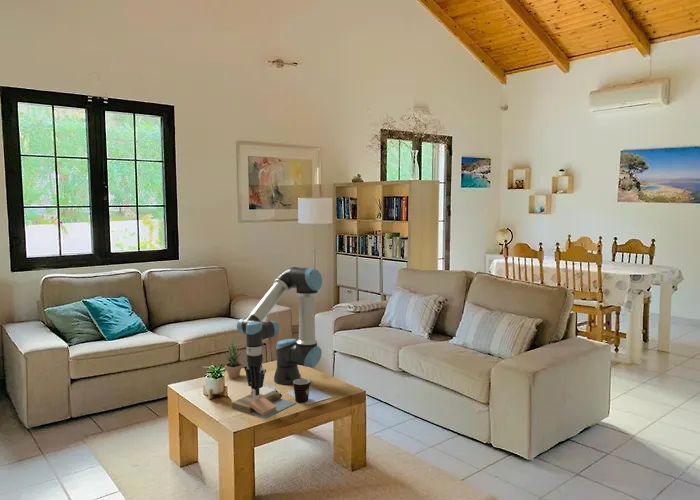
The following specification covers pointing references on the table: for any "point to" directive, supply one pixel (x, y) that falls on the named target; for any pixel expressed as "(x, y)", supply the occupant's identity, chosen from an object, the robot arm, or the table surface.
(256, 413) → the slate mat
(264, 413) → the terracotta coaster
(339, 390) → the table surface
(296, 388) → the coffee mug
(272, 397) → the walnut board
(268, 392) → the cream coaster
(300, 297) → the robot arm
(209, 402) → the table surface
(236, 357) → the potted plant
